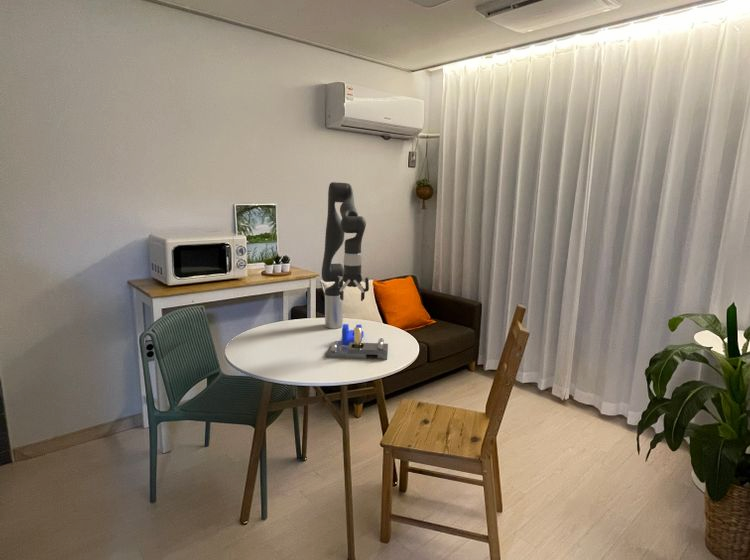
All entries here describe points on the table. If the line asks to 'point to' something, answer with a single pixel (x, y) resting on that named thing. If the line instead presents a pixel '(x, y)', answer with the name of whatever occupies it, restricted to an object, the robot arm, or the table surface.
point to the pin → (357, 337)
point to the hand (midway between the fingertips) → (352, 300)
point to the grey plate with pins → (358, 350)
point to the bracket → (349, 334)
